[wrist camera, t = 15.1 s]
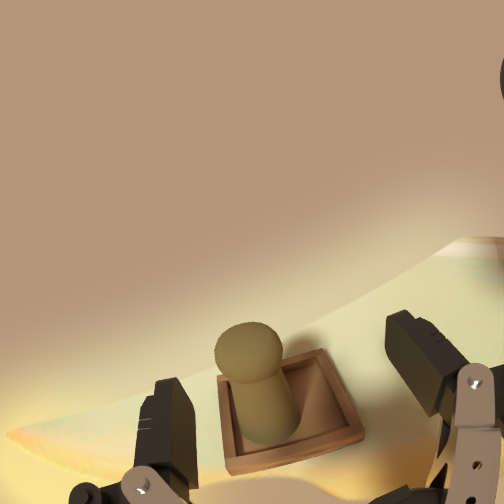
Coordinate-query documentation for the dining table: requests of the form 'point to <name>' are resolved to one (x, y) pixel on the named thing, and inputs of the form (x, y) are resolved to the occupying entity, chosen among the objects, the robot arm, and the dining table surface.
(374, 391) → the dining table surface
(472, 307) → the dining table surface
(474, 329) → the dining table surface
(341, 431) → the tray
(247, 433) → the olive pepper mill
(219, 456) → the dining table surface
